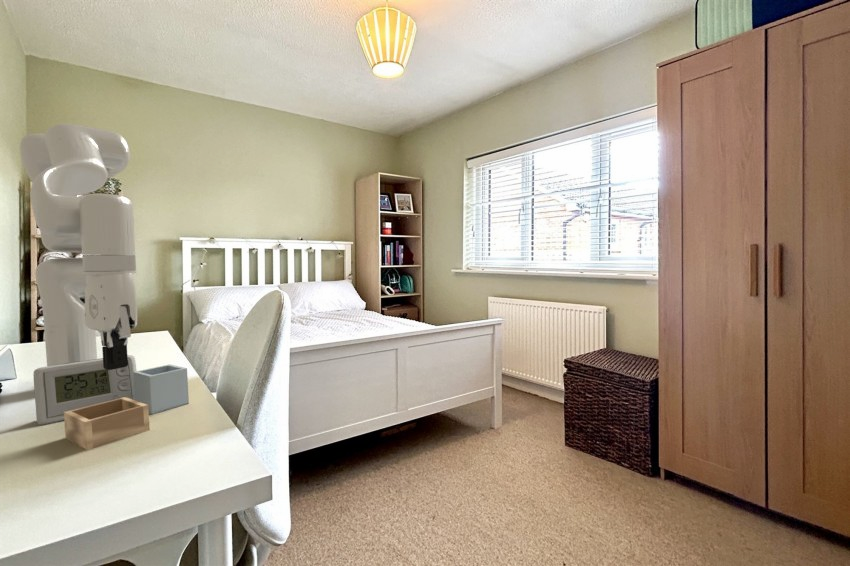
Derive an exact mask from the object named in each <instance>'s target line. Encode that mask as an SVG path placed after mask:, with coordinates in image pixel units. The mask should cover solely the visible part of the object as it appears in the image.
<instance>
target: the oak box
mask: <svg viewBox="0 0 850 566" xmlns="http://www.w3.org/2000/svg"><path fill="white" fill-rule="evenodd" d="M150 428H151V427H150V414H149V410H148V405H147V404H144V403H141V402H138V401H135V400H132V399H129V398H126V397H123V398H119V399H115V400H111V401H107V402H103V403H99V404H95V405H91V406H87V407H83V408H79V409H75V410H71V411H67V412H64V431H65V432H64V433H65V439H66V440H69V441H70V442H72V443H74V444H75V445H78V446H79V447H81V448H82V449H85V451H88V450H89V451H90V450H92V449H94V448H98V447H101V446H103V445H107V444H111V443H114V442H117V441H120V440H123V439H127V438H130V437H133V436H136V435H139V434H142V433H145V432H147V431H150Z"/></svg>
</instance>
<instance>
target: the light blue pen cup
mask: <svg viewBox="0 0 850 566" xmlns="http://www.w3.org/2000/svg"><path fill="white" fill-rule="evenodd" d="M133 378H134V394H135V401H138V402H141V403H144V404H147V405H148V410H149V415H155V414H156V415H157V414H159V413H162V412H166V411H169V410H170V411H171V410H173V409H175V408H179V407H183V406H186V405H190V401H189V396H190V395H189V382H188V381H189V380H188V368H187V367H183V366H178V365H173V364H165V365H161V366H155V367H152V368H151V367H150V368H147V369H141V370H140V369H139V370H137V371H136V372H133Z"/></svg>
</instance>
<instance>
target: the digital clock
mask: <svg viewBox="0 0 850 566" xmlns="http://www.w3.org/2000/svg"><path fill="white" fill-rule="evenodd" d="M127 357H128V366H127V367H123V368H118V369H113V370H107V369H104V367H103V357H102V358H97V359H93V360H86V361H79V362H72V363H65V364H62V365H55V366H47V365H46V366H42V367H37V368H36V369H34V371H33V388H34V389H33V390H34V402H35V404H34V405H35V416H36V417H35V418H36V423H37V425H38V426H43V425H49V424H54V423H58V422H63V421H64V412H67V411H71V410H75V409H79V408H83V407H87V406H91V405H95V404H99V403H103V402H107V401H111V400H115V399H119V398H123V397H126V398H129V399H132V400H135V394H134V378H133V372H136V371H138V369H137V362H136V358H135V356H134V355H133V354H127Z"/></svg>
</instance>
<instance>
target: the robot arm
mask: <svg viewBox="0 0 850 566" xmlns="http://www.w3.org/2000/svg"><path fill="white" fill-rule="evenodd" d="M19 152H20V158H21V161H22V164H23V167H24V169H25V172H26V174H27V176H28V177H29V180H30V181H31V188H30V194H29V196H30V204H31V208H32V213H33V217H34V221H35V224H36V226H37V227H38V229H39V231H40V239H41V243H42V245H43V246H44V247H45V249H47V250H48V251H51V252H56V253H81V254H82V256H81V257H56V258H49V259H47V260H44V261H42V262H40V263H39V264H38V265H37V266H36V268H35V272H34V275H35V281H36V285H37V289H38V292H39V296H40V302H41V308H42V315H43V329H44V342H45V343H44V344H45V356H46V359H45V360H46V367H47V366H55V365H62V364H65V363H72V362H79V361H86V360H93V359H98V352H97V350H98V349H97V335H96V333H97V332H96V331H98V333H99V334H100V341H101V342H100V343H101V346H102V358H103V367H104V369H107V370H113V369H118V368H123V367H127V366H128V357H127V355H128V342H129V341H128V338H131V336H132V335H131V334H132V333H131V330H133V329H135V328H136V327H137V325H138V302H137V295H136V286H135V279H134V275H133V274H137V263H136V244H135V243H136V242H135V241H136V240H135V238H136V237H135V224H134V223H135V219H134V207H133V203H132V201H131V199H130V198H128V197H126V196H124V195H118V194H112V193H111V194H110V193H93V192H96V191H98V190H100V189H101V188H102V187H104V185H105V184H106V182H107V180H108V179H111V178H114V177H116V176H117V175H119V174H121V173H122V172H124V171H125V170H126V169H127V167H128V166H129V164H130V160H131V151H130V146H129V145H128V142H127V140H126V139H125V138H124V136H122V135H121V134H120V133H118V132H116V131H113V130H108V129H104V128H103V129H102V128H96V127H91V126H85V125H80V124H74V123H66V122H65V123H64V122H63V123H56V124H54V125H52V126H50V127H49V128H47V130H46V131H45V132H44V133H30V134H29V133H28V134H26V135H23V137H22V138H21V139H20V143H19ZM83 297H84V302H83V301H82V300H81V299H80V298H83Z"/></svg>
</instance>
